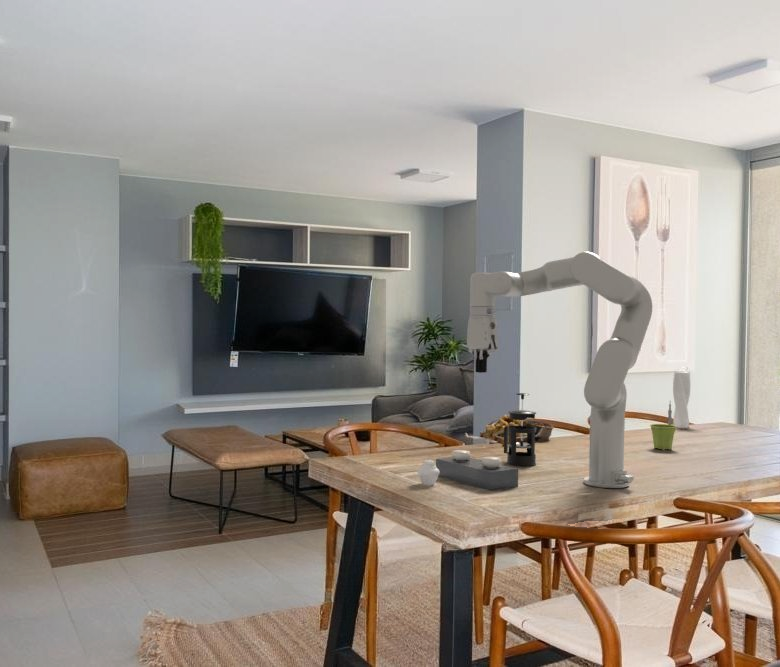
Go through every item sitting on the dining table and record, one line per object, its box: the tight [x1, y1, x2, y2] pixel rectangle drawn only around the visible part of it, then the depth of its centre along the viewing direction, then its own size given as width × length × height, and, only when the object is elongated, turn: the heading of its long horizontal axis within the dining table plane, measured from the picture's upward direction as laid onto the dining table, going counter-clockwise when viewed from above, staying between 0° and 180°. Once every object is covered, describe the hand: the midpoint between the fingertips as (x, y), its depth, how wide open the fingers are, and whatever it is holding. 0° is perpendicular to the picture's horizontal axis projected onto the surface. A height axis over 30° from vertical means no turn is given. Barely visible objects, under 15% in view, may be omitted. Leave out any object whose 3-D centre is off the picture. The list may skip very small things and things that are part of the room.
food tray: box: [464, 414, 554, 447], centre depth 302 cm, size 35×26×11 cm
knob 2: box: [481, 456, 502, 469], centre depth 215 cm, size 5×5×6 cm
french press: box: [503, 392, 537, 468], centre depth 249 cm, size 12×9×23 cm
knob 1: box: [451, 449, 471, 462], centre depth 226 cm, size 5×5×6 cm
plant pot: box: [649, 423, 677, 450], centre depth 286 cm, size 9×9×9 cm
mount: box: [435, 456, 519, 492], centre depth 220 cm, size 24×10×5 cm, turn 35°
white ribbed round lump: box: [417, 459, 440, 487], centre depth 214 cm, size 6×6×7 cm
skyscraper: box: [667, 366, 691, 429], centre depth 346 cm, size 8×8×28 cm
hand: (481, 372), depth 238 cm, fingers closed
